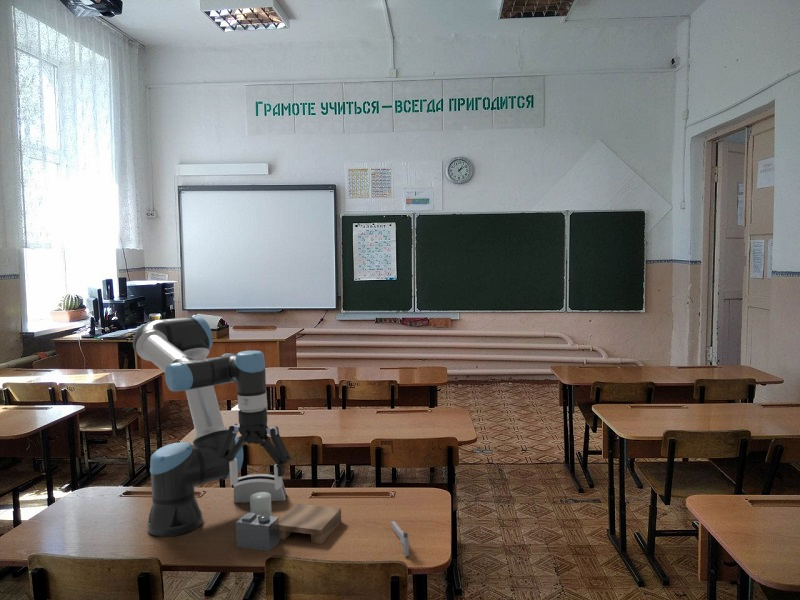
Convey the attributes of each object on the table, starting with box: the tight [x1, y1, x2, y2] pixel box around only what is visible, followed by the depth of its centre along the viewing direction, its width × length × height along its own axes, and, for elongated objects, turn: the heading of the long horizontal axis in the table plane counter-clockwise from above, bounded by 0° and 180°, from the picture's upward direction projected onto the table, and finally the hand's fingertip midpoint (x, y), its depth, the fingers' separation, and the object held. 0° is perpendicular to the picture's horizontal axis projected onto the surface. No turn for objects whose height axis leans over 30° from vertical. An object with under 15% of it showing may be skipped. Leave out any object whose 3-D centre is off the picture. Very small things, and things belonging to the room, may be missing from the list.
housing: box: [235, 512, 281, 552], centre depth 163 cm, size 10×6×8 cm, turn 73°
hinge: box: [233, 473, 287, 504], centre depth 192 cm, size 17×5×10 cm, turn 92°
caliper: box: [390, 520, 410, 558], centre depth 164 cm, size 20×1×6 cm, turn 12°
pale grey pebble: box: [249, 492, 273, 516], centre depth 176 cm, size 6×6×8 cm
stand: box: [279, 503, 342, 545], centre depth 171 cm, size 14×14×4 cm
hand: (256, 485), depth 162 cm, fingers open, 13 cm apart
